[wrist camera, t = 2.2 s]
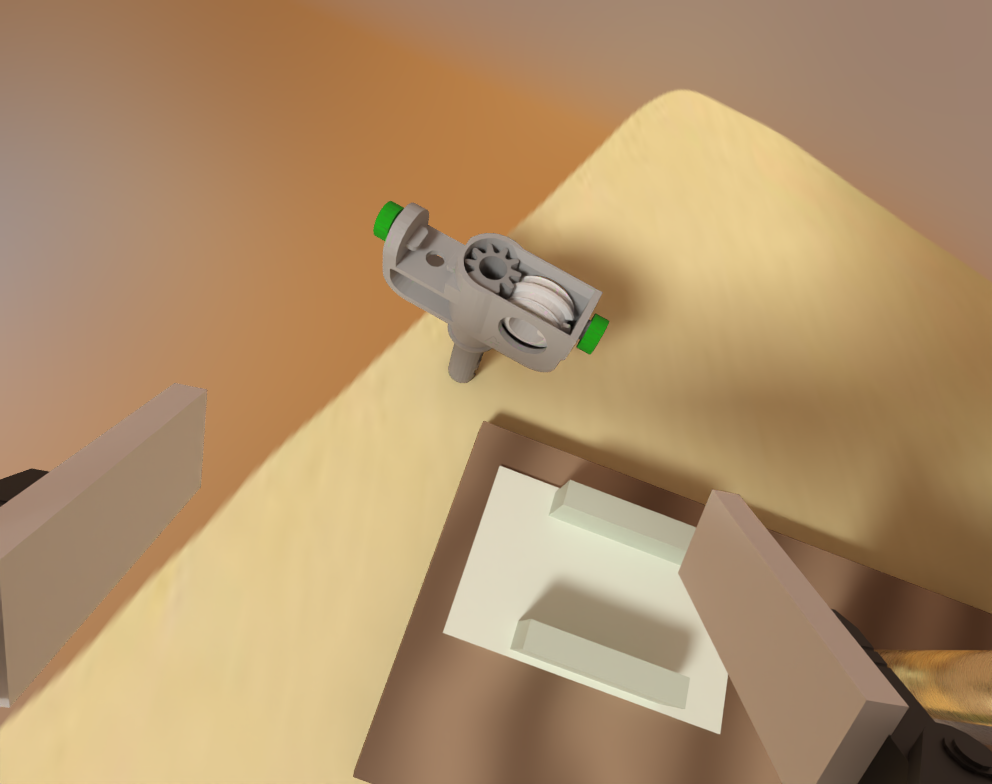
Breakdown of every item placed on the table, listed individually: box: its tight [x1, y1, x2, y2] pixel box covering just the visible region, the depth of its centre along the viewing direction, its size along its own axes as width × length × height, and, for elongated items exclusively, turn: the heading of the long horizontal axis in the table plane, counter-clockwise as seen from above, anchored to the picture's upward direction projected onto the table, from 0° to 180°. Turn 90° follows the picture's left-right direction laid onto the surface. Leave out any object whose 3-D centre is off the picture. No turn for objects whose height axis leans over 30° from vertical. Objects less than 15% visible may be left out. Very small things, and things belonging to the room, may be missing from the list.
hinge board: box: [353, 421, 992, 784], centre depth 23 cm, size 30×16×12 cm, turn 71°
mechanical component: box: [373, 201, 609, 383], centre depth 28 cm, size 3×10×10 cm, turn 62°
